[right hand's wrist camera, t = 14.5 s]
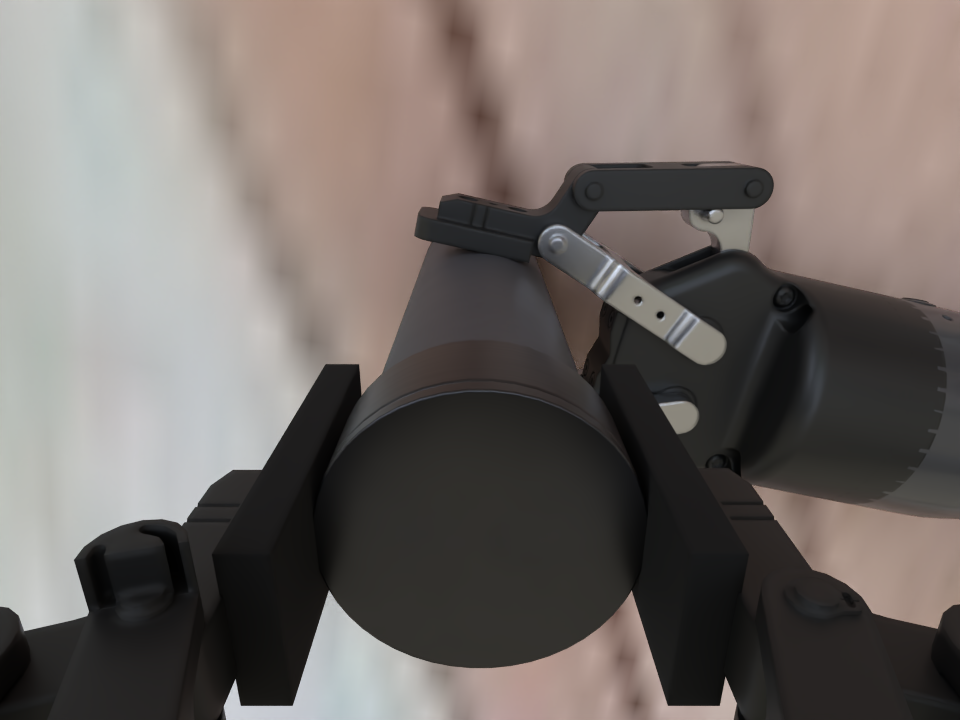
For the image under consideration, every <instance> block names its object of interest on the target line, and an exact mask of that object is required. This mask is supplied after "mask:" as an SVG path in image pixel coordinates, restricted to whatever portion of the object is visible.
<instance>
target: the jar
mask: <svg viewBox="0 0 960 720" xmlns="http://www.w3.org/2000/svg"><path fill="white" fill-rule="evenodd" d="M467 340H494V341H502V342H510V343H514V344H518V345H522V346H526V347H530V348H532V349H535V350H538V351H540V352H543V353H545V354H548V355H550V356H551V357H553V358H555V359H557V360H559V361H561V362H562V363H564V364H566V365H567V366H568V367H570V368H571V369H572V370H574V371H575V372H577V373H578V371H577V368H576V365H575V363H574V360H573V357H572V355H571V352H570V349H569V347H568V344H567V341H566V338H565V336H564V333H563V330H562V328H561V325H560V322H559V320H558V317H557V314H556V311H555V309H554V306H553V303H552V301H551V298H550V295H549V293H548V290H547V287H546V284H545V282H544V279H543V276H542V274H541V271H540V268H539V266H538V263H537V260H536V257H535V256H532V255H531V257H530V261H529V263H526V262H521V261H517V260H512V259H508V258H504V257H500V256H496V255H490V254H485V253H481V252H476V251H471V250H467V249H462V248H458V247H453V246H449V245H444V244H440V243H435V242H432V243H431V245H430V247H429V249H428V251H427V254H426V256H425V259H424V262H423V264H422V267H421V270H420V273H419V275H418V278H417V281H416V283H415V286H414V289H413V292H412V294H411V297H410V300H409V302H408V305H407V308H406V311H405V313H404V316H403V319H402V321H401V324H400V327H399V330H398V332H397V335H396V338H395V340H394V343H393V346H392V349H391V351H390V354H389V357H388V360H387V362H386V365H385V368H384V370H383V373H384V372H386V371H387V370H388V369H390V368H391V367H392V366H394V365H395V364H397V363H399V362H400V361H402V360H404V359H406V358H408V357H409V356H411V355H413V354H416V353H418V352H421V351H423V350H426V349H428V348H431V347H435V346H439V345H443V344H447V343H451V342H459V341H467ZM383 373H382V374H383Z"/></svg>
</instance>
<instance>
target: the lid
mask: <svg viewBox="0 0 960 720" xmlns="http://www.w3.org/2000/svg"><path fill="white" fill-rule="evenodd" d="M647 517H648V509H647V504H646V499H645V495H644V492H643V489H642V487H641V484H640V482H639V479H638V476H637V474H636V472H635V469H634V467H633V465H632V462H631V460H630V458H629V455H628V453H627V451H626V448H625V446H624V444H623V441H622V439H621V437H620V434H619V432H618V430H617V427H616V425H615V423H614V420H613V418H612V416H611V414H610V412H609V410H608V409H607V407H606V405H605V403H604V402H603V400H602V399H601V398H600V396H599V395H598V394H597V392H596V391H595V390H594V389H593V387H592V386H591V385H590V384H589V383H588V382H587V381H585V380H584V379H583V378H582V377H581V376H580V375H579V374H578V373H577V372H575V371H574V370H572V369H571V368H570V367H568V366H567V365H566V364H564V363H562V362H561V361H559V360H557V359H555V358H553V357H551V356H550V355H548V354H545V353H543V352H540V351H538V350H535V349H532V348H530V347H526V346H522V345H518V344H514V343H510V342H502V341H494V340H467V341H459V342H451V343H447V344H443V345H439V346H435V347H431V348H428V349H426V350H423V351H421V352H418V353H416V354H413V355H411V356H409V357H408V358H406V359H404V360H402V361H400V362H399V363H397V364H395V365H394V366H392V367H391V368H390V369H388V370H387V371H386V372H384V373H383V374H382V375H380V376H379V377H378V378H377V379H376V380H375V381H374V382H373V383H372V384H371V385H370V386H369V387H368V388H367V390H366V391H365V392H364V393H363V395H362V396H361V397H360V399H359V400H358V401H357V403H356V405H355V406H354V408H353V410H352V412H351V414H350V416H349V417H348V420H347V422H346V424H345V427H344V429H343V431H342V434H341V436H340V439H339V441H338V443H337V446H336V448H335V450H334V453H333V455H332V457H331V460H330V462H329V464H328V467H327V469H326V471H325V474H324V476H323V479H322V481H321V484H320V487H319V489H318V492H317V495H316V499H315V504H314V509H313V521H314V530H315V539H316V547H317V556H318V564H319V570H320V573H321V575H322V577H323V579H324V581H325V583H326V586H327V587H328V589H329V591H330V592H331V594H332V595H333V597H334V598H335V600H336V601H337V603H338V604H339V605H340V606H341V607H342V609H343V610H344V611H345V612H346V613H347V614H348V616H349V617H350V618H352V619H353V620H354V621H355V622H356V623H357V624H358V625H359V626H360V627H361V628H362V629H364V630H365V631H367V632H368V633H369V634H371V635H372V636H374V637H375V638H376V639H378V640H380V641H381V642H383V643H385V644H387V645H389V646H390V647H392V648H394V649H396V650H398V651H401V652H403V653H406V654H408V655H410V656H413V657H416V658H419V659H423V660H426V661H429V662H433V663H438V664H443V665H448V666H455V667H466V668H496V667H505V666H513V665H518V664H523V663H528V662H532V661H535V660H538V659H542V658H545V657H548V656H551V655H553V654H555V653H558V652H560V651H562V650H565V649H567V648H569V647H571V646H572V645H574V644H576V643H578V642H579V641H581V640H583V639H585V638H586V637H587V636H589V635H590V634H591V633H593V632H594V631H596V630H597V629H598V628H600V627H601V626H602V625H603V624H604V623H605V622H606V621H607V620H608V619H609V618H610V617H611V616H612V615H613V614H614V613H615V612H616V611H617V610H618V608H619V607H620V606H621V605H622V604H623V602H624V601H625V600H626V598H627V597H628V595H629V594H630V592H631V590H632V589H633V587H634V586H635V583H636V581H637V579H638V577H639V574H640V572H641V568H642V561H643V553H644V544H645V536H646V527H647Z"/></svg>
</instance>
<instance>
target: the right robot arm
mask: <svg viewBox="0 0 960 720" xmlns="http://www.w3.org/2000/svg"><path fill="white" fill-rule="evenodd" d="M599 396H600V398H601V399H602V400H603V402H604V403H605V405H606V407H607V409H608V410H609V412H610V414H611V416H612V418H613V420H614V423H615V425H616V427H617V430H618V432H619V434H620V437H621V439H622V441H623V444H624V446H625V448H626V451H627V453H628V455H629V458H630V460H631V462H632V465H633V467H634V469H635V472H636V474H637V476H638V479H639V482H640V484H641V487H642V489H643V492H644V495H645V499H646V504H647V509H648V517H647V527H646V536H645V544H644V553H643V561H642V568H641V572H640V574H639V577H638V579H637V581H636V583H635V586H634V587H633V589H632V592H633V596H634V599H635V602H636V605H637V608H638V612H639V615H640V618H641V621H642V624H643V628H644V631H645V634H646V637H647V640H648V644H649V647H650V650H651V653H652V656H653V660H654V663H655V666H656V669H657V672H658V675H659V679H660V682H661V685H662V688H663V691H664V695H665V698H666V701H667V704H668V706H720V702H721V696H722V691H723V686H724V681H725V676H726V679H727V681H728V683H729V686H730V688H731V690H732V693H733V695H734V697H735V700H736V702H737V707H736V711H735V716H734V720H960V605H953V606H952V607H950V608H949V609H948V610H946V611H945V612H944V613H943V615H942V618H941V621H940V624H939V627H938V629H935V628H931V627H926V626H922V625H917V624H913V623H908V622H904V621H900V620H895V619H891V618H887V617H883V616H880V615H877V614H873V613H872V612H871V610H870V609H869V607H868V606H867V604H866V603H865V601H864V600H863V598H862V597H861V596H860V595H859V594H857V593H856V592H855V591H854V590H853V589H851V588H850V587H849V586H848V585H846V584H845V583H843V582H841V581H839V580H837V579H835V578H833V577H831V576H829V575H827V574H824V573H821V572H817V571H814V570H812V569H811V567H810V566H809V565H808V563H807V562H806V560H805V559H804V558H803V556H802V555H801V554H800V552H799V551H798V549H797V548H796V547H795V545H794V544H793V542H792V541H791V540H790V538H789V537H788V535H787V534H786V533H785V531H784V530H783V528H782V527H781V526H780V524H779V523H778V521H777V520H774V516H773V515H772V513H771V512H770V510H769V509H768V508H767V506H766V505H763V501H762V499H761V498H760V496H759V495H758V494H757V492H756V491H755V489H754V488H753V487H752V485H751V484H750V483H749V482H747V481H746V480H744V479H743V478H742V477H740V476H739V475H737V474H736V473H734V472H733V471H731V470H730V469H729V468H697V467H696V465H695V463H694V462H693V460H692V458H691V457H690V455H689V453H688V452H687V450H686V448H685V447H684V445H683V443H682V442H681V440H680V438H679V437H678V435H677V433H676V432H675V430H674V428H673V427H672V425H671V423H670V422H669V420H668V419H667V417H666V415H665V414H664V412H663V410H662V409H661V407H660V405H659V404H658V402H657V400H656V399H655V397H654V395H653V394H652V392H651V390H650V389H649V387H648V385H647V384H646V382H645V380H644V379H643V377H642V375H641V374H640V372H639V370H638V369H637V367H636V365H635V364H602V366H601V378H600V391H599ZM360 397H361V383H360V370H359V364H326V365H325V366H324V368H323V370H322V371H321V373H320V375H319V376H318V378H317V380H316V381H315V383H314V385H313V386H312V388H311V390H310V391H309V393H308V395H307V396H306V398H305V400H304V401H303V403H302V405H301V406H300V408H299V410H298V411H297V413H296V415H295V416H294V418H293V420H292V421H291V423H290V425H289V426H288V428H287V430H286V431H285V433H284V435H283V436H282V438H281V440H280V441H279V443H278V445H277V446H276V448H275V450H274V451H273V453H272V454H271V456H270V458H269V459H268V461H267V463H266V464H265V466H264V468H263V469H262V470H232V471H231V472H229V473H228V474H227V475H225V476H224V477H222V478H221V479H219V480H218V481H217V482H215V483H214V484H212V485H211V486H210V487H209V489H208V490H207V492H206V493H205V494H204V496H203V497H202V499H201V500H200V501H199V503H198V507H195V508H194V510H193V511H192V513H191V514H190V515H189V517H188V518H187V522H184V524H183V525H182V526H181V525H180V524H178V523H176V522H172V521H167V520H163V519H159V520H142V521H138V522H134V523H130V524H126V525H122V526H119V527H117V528H115V529H113V530H111V531H108V532H106V533H104V534H102V535H100V536H99V537H97V538H96V539H94V540H93V541H92V542H90V543H89V544H87V545H86V546H85V547H84V548H83V549H82V550H81V552H80V553H79V554H78V556H77V557H76V558H75V559H74V562H75V565H76V568H77V572H78V575H79V579H80V582H81V585H82V589H83V592H84V596H85V599H86V602H87V606H88V609H89V614H88V616H86V617H83V618H79V619H76V620H72V621H68V622H64V623H59V624H55V625H50V626H46V627H41V628H37V629H33V630H28V631H24V630H23V627H22V624H21V621H20V618H19V616H18V615H17V614H16V613H15V612H13V611H12V610H11V609H9V608H6V607H0V720H226V716H225V711H224V704H225V702H226V700H227V697H228V695H229V693H230V690H231V688H232V686H233V683H234V681H235V679H236V683H237V688H238V693H239V698H240V703H241V706H293V703H294V700H295V697H296V693H297V690H298V687H299V684H300V681H301V677H302V674H303V671H304V668H305V665H306V661H307V658H308V655H309V652H310V649H311V646H312V642H313V639H314V636H315V633H316V630H317V626H318V623H319V620H320V617H321V614H322V610H323V607H324V604H325V601H326V598H327V594H328V591H329V589H328V587H327V586H326V583H325V581H324V579H323V577H322V575H321V573H320V570H319V564H318V556H317V547H316V539H315V530H314V521H313V509H314V504H315V499H316V495H317V492H318V489H319V487H320V484H321V481H322V479H323V476H324V474H325V471H326V469H327V467H328V464H329V462H330V460H331V457H332V455H333V453H334V450H335V448H336V446H337V443H338V441H339V439H340V436H341V434H342V431H343V429H344V427H345V424H346V422H347V420H348V417H349V416H350V414H351V412H352V410H353V408H354V406H355V405H356V403H357V401H358V400H359V399H360Z"/></svg>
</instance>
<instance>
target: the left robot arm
mask: <svg viewBox="0 0 960 720" xmlns="http://www.w3.org/2000/svg"><path fill="white" fill-rule="evenodd" d="M773 187H774V183H773V179H772V176H771V175H770V173H769V172H768V171H766V170H764V169H762V168H758V167H753V166H748V165H744V164H739V163H734V162H730V161H711V162H646V163H583V164H577V165H575V166H573V167H572V168H571V169H570V170H569V171H568V172H567V174H566V176H565V179H564V183H563V184H562V186H561V187H560V189H559V190H558V192H557V193H556V195H555V196H554V198H553V199H552V200H551V201H550V202H549V203H548V204H547V205H546V206H544V207H542V208H539V209H525V208H521V207H516V206H512V205H508V204H503V203H499V202H494V201H490V200H486V199H481V198H476V197H472V196H468V195H464V194H459V193H458V194H452V195H446V196H442V199H441V201H440V205H439V209H436V208H431V207H422V208H421V209H420V211H419V213H418V217H417V223H416V228H415V234H414V235H415V236H416V237H418V238H420V239H423V240H426V241H431V242H435V243H440V244H444V245H449V246H453V247H458V248H462V249H467V250H471V251H476V252H481V253H485V254H490V255H496V256H500V257H504V258H508V259H512V260H517V261H521V262H526V263H529V261H530V257H531V255H532V256H537V257H541V258H544V259H545V260H546V261H548V262H549V263H551V264H552V265H554V266H555V267H557V268H558V269H560V270H561V271H563V272H564V273H566V274H568V275H569V276H571V277H572V278H574V279H575V280H577V281H578V282H580V283H581V284H583V285H584V286H586V287H587V288H589V289H590V290H591V291H592V292H593V293H594V294H596V295H597V296H598V297H599V298H601V299H602V300H603V301H604V302H603V305H602V309H601V312H600V324H599V337H598V339H597V340H596V342H595V343H594V345H593V347H592V348H591V350H590V351H589V353H588V355H587V358H586V361H585V365H584V368H583V369H578V370H577V371H578V374H579V375H580V376H581V377H582V378H583V379H584V380H585V381H587V382H588V383H589V384H590V385H591V386H592V387H593V389H594V390H595V391H596V392H597V394H598V395H599V391H600V378H601V366H602V364H635V365H636V367H637V369H638V370H639V372H640V374H641V375H642V377H643V379H644V380H645V382H646V384H647V385H648V387H649V389H650V390H651V392H652V394H653V395H654V397H655V399H656V400H657V402H658V404H659V405H660V407H661V409H662V410H663V412H664V414H665V415H666V417H667V419H668V420H669V422H670V423H671V425H672V427H673V428H674V430H675V432H676V433H677V435H678V437H679V438H680V440H681V442H682V443H683V445H684V447H685V448H686V450H687V452H688V453H689V455H690V457H691V458H692V460H693V462H694V463H695V465H696V467H697V468H729V469H730V470H731V471H733V472H734V473H736V474H737V475H739V476H740V477H742V478H743V479H744V480H746V481H747V482H749V483H750V484H751V485H755V486H760V487H765V488H771V489H776V490H781V491H786V492H791V493H796V494H801V495H806V496H811V497H816V498H822V499H827V500H832V501H837V502H842V503H847V504H853V505H858V506H863V507H868V508H873V509H878V510H883V511H888V512H893V513H898V514H905V515H911V516H918V517H926V518H942V519H960V313H959V312H956V311H952V310H948V309H943V308H939V307H936V306H935V305H933V304H930V303H929V302H927V301H923V300H918V299H912V298H902V299H899V298H894V297H890V296H885V295H881V294H876V293H872V292H868V291H863V290H859V289H854V288H850V287H846V286H841V285H837V284H832V283H828V282H823V281H819V280H815V279H810V278H806V277H801V276H797V275H792V274H788V273H783V272H779V271H775V270H771V269H768V268H767V267H766V266H765V265H764V264H763V263H762V262H761V261H760V260H759V259H758V258H757V257H756V256H754V255H753V254H751V253H749V245H750V238H751V231H752V224H753V217H754V211H755V208H758V207H760V206H762V205H763V204H765V203H766V202H767V201H768V200H769V198H770V197H771V194H772V192H773ZM652 210H681V211H680V212H681V216H682V218H683V220H684V221H685V222H686V223H687V224H688V225H690V226H692V227H694V228H696V229H697V230H700V231H704V232H707V233H708V234H709V236H710V238H711V245H710V246H708V247H705V248H703V249H700V250H698V251H695V252H693V253H691V254H688V255H686V256H683V257H681V258H678V259H676V260H673V261H671V262H669V263H666V264H664V265H661V266H659V267H656V268H654V269H651V270H649V271H646V272H644V271H642V270H641V269H639V268H638V267H636V266H635V265H634V264H632V263H631V262H629V261H628V260H626V259H625V258H623V257H622V256H620V255H619V254H617V253H616V252H614V251H613V250H611V249H610V248H608V247H607V246H605V245H604V244H602V243H600V242H598V241H597V240H595V239H594V238H592V237H591V236H589V235H588V234H586V233H585V231H586V229H587V228H588V226H589V225H590V224H591V222H592V221H593V219H594V218H595V216H596V215H597V214H598V212H599V211H652Z"/></svg>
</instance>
